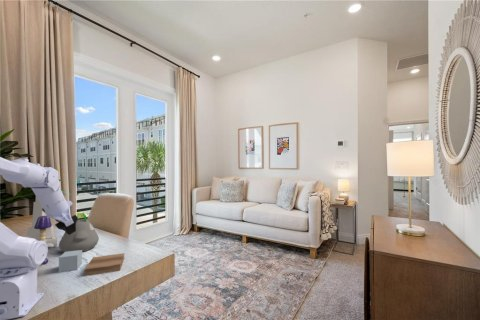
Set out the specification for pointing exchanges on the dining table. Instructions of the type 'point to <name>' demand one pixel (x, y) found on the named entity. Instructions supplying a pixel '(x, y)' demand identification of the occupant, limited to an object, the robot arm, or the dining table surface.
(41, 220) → the toy lamp
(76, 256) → the slate cube
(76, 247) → the toy
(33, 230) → the sculpture
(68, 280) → the dining table surface
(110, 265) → the walnut base
